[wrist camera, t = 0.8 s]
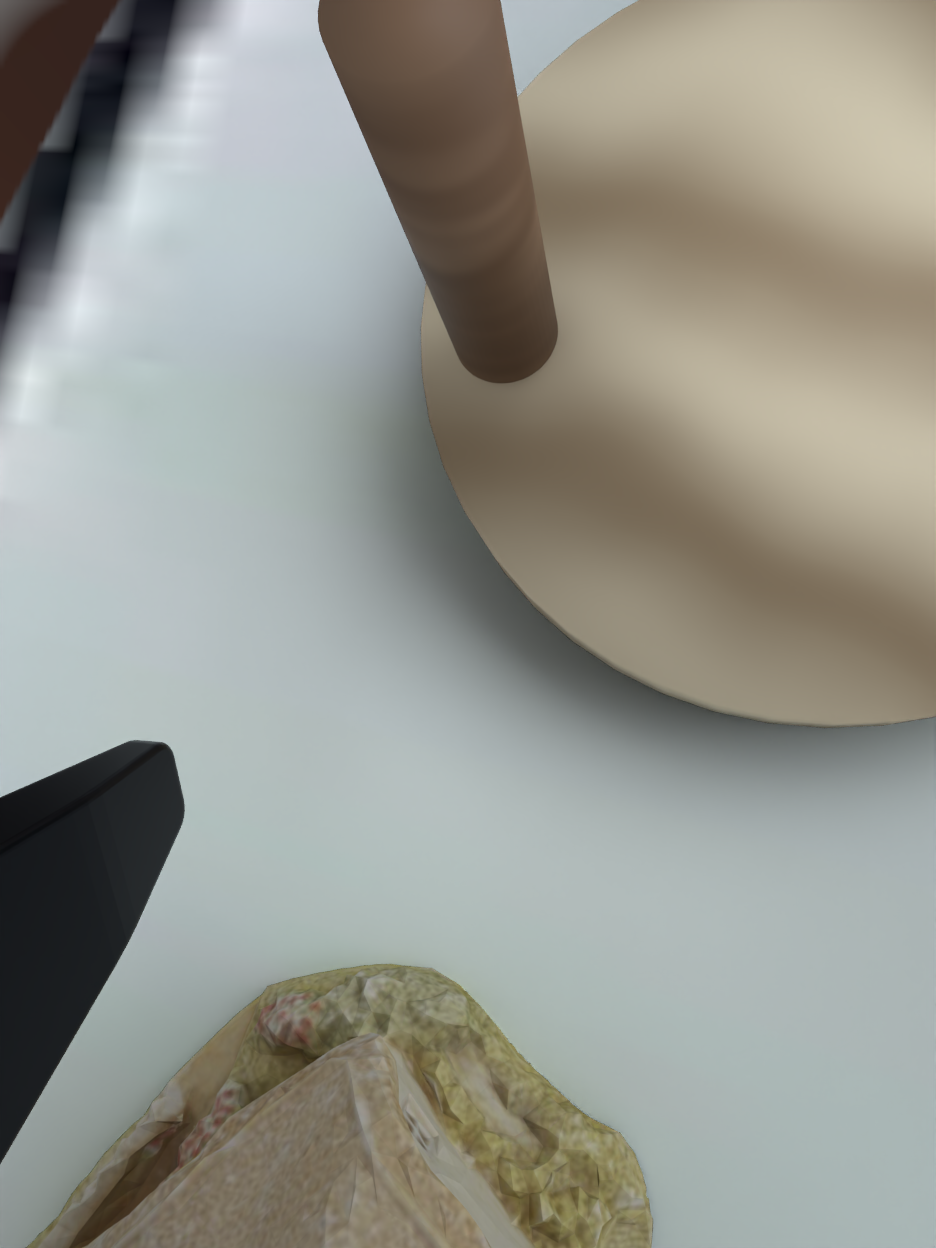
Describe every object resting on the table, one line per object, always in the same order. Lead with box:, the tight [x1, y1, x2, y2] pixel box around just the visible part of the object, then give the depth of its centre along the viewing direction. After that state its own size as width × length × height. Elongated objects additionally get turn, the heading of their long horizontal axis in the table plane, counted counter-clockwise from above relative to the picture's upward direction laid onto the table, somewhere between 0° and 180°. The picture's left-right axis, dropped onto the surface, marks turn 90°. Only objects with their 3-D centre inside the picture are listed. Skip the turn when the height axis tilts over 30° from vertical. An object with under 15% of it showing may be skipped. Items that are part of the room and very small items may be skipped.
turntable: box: [318, 0, 936, 728], centre depth 15 cm, size 18×18×11 cm
